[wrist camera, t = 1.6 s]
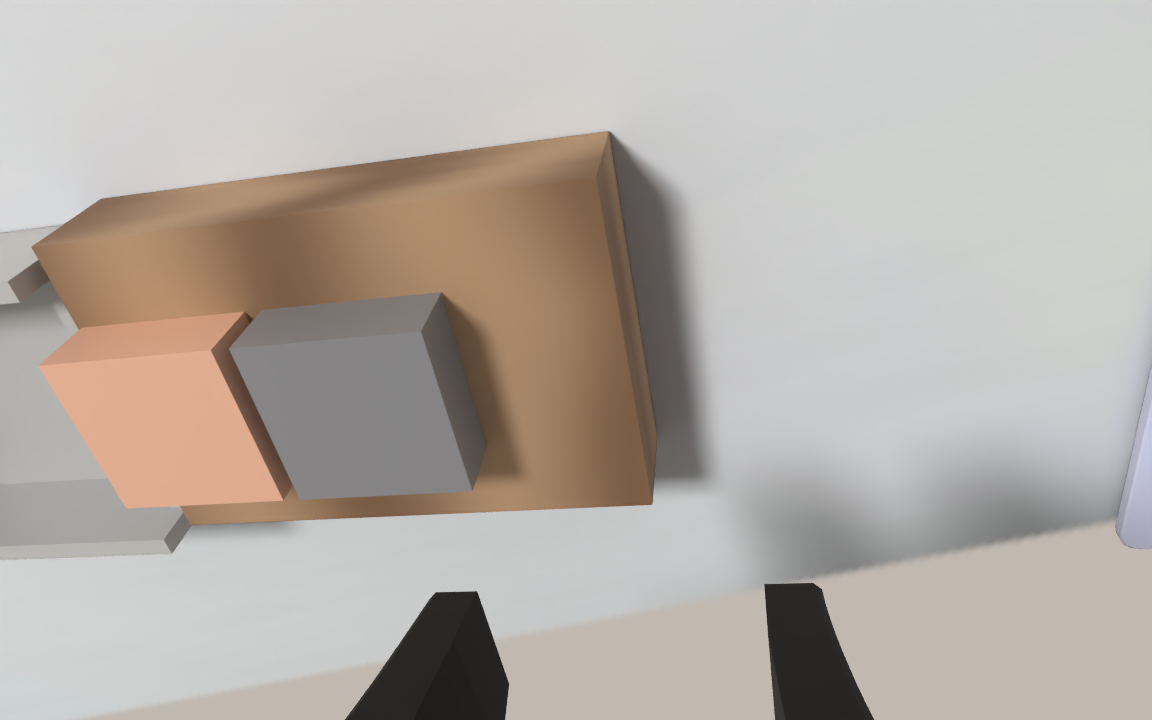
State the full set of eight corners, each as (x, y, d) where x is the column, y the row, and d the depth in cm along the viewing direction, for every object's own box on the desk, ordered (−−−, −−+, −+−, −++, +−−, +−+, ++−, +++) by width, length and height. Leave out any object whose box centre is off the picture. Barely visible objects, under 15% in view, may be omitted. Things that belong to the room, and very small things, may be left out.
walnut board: (609, 131, 17) (595, 177, 15) (657, 436, 22) (652, 504, 20) (101, 198, 20) (30, 246, 18) (234, 461, 24) (190, 524, 22)
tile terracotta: (244, 311, 18) (210, 350, 17) (309, 456, 20) (283, 500, 19) (81, 327, 19) (37, 365, 18) (160, 465, 21) (126, 508, 20)
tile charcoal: (441, 291, 17) (421, 331, 16) (487, 446, 19) (472, 491, 18) (261, 309, 18) (228, 348, 17) (324, 455, 20) (299, 499, 19)
